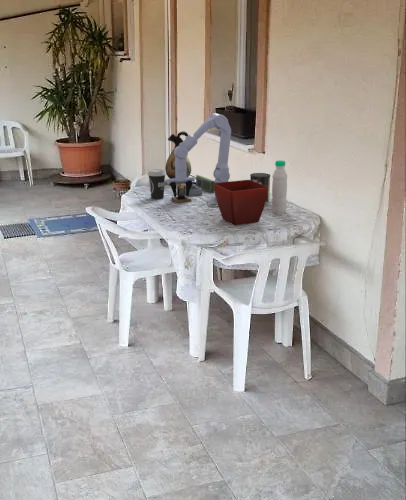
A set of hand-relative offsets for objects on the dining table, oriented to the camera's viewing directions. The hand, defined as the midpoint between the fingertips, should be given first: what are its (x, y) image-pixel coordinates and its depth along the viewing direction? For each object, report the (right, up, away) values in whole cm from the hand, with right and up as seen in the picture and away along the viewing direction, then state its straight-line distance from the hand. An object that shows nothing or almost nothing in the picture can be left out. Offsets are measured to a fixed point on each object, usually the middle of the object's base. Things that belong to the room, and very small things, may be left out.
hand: (181, 195), depth 326 cm
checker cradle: (0, -3, +1) cm, 3 cm away
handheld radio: (+11, +7, +31) cm, 34 cm away
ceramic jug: (-3, +13, +49) cm, 51 cm away
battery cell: (0, -2, +1) cm, 2 cm away
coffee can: (+41, -3, -1) cm, 41 cm away
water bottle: (+48, -10, -23) cm, 54 cm away
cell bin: (+4, +2, +17) cm, 17 cm away
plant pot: (+28, -15, -37) cm, 49 cm away
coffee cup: (-13, -1, +7) cm, 15 cm away
